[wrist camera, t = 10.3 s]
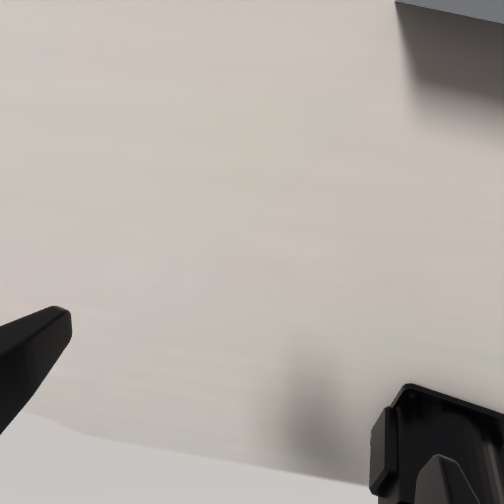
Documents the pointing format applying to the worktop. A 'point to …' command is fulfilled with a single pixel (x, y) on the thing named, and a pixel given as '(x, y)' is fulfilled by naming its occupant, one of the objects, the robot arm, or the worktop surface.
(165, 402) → the worktop surface
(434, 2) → the grey board with hole
